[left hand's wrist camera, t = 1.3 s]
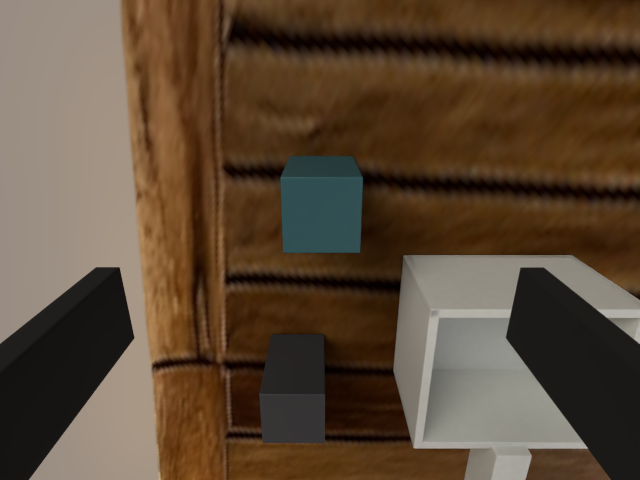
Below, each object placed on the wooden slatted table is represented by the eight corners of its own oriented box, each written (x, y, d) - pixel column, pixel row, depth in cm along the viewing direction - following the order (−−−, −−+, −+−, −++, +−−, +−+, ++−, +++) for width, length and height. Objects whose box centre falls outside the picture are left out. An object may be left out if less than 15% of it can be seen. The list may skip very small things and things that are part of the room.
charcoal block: (324, 333, 33) (325, 394, 26) (324, 376, 34) (324, 443, 28) (271, 333, 33) (259, 394, 26) (273, 376, 34) (262, 443, 28)
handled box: (572, 254, 30) (666, 317, 22) (515, 471, 39) (567, 574, 31) (403, 254, 30) (434, 317, 22) (384, 471, 39) (401, 574, 31)
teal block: (353, 155, 27) (363, 177, 21) (351, 216, 29) (360, 253, 22) (289, 155, 27) (280, 176, 21) (291, 216, 29) (283, 253, 22)
